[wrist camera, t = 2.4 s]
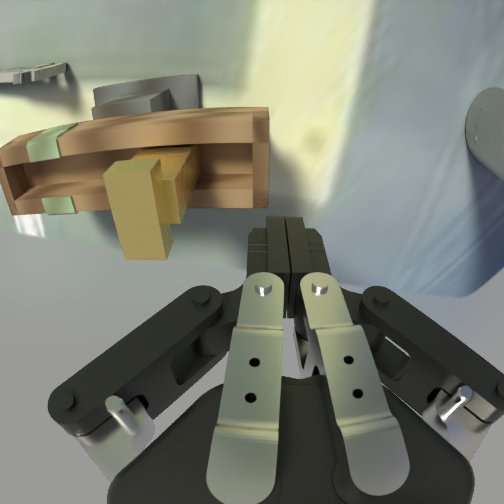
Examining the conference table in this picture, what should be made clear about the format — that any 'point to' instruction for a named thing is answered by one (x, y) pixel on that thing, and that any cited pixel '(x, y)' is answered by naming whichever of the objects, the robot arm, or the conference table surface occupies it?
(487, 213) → the conference table surface
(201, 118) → the beam
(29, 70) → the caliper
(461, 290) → the conference table surface
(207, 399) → the robot arm
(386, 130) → the conference table surface
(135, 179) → the block
